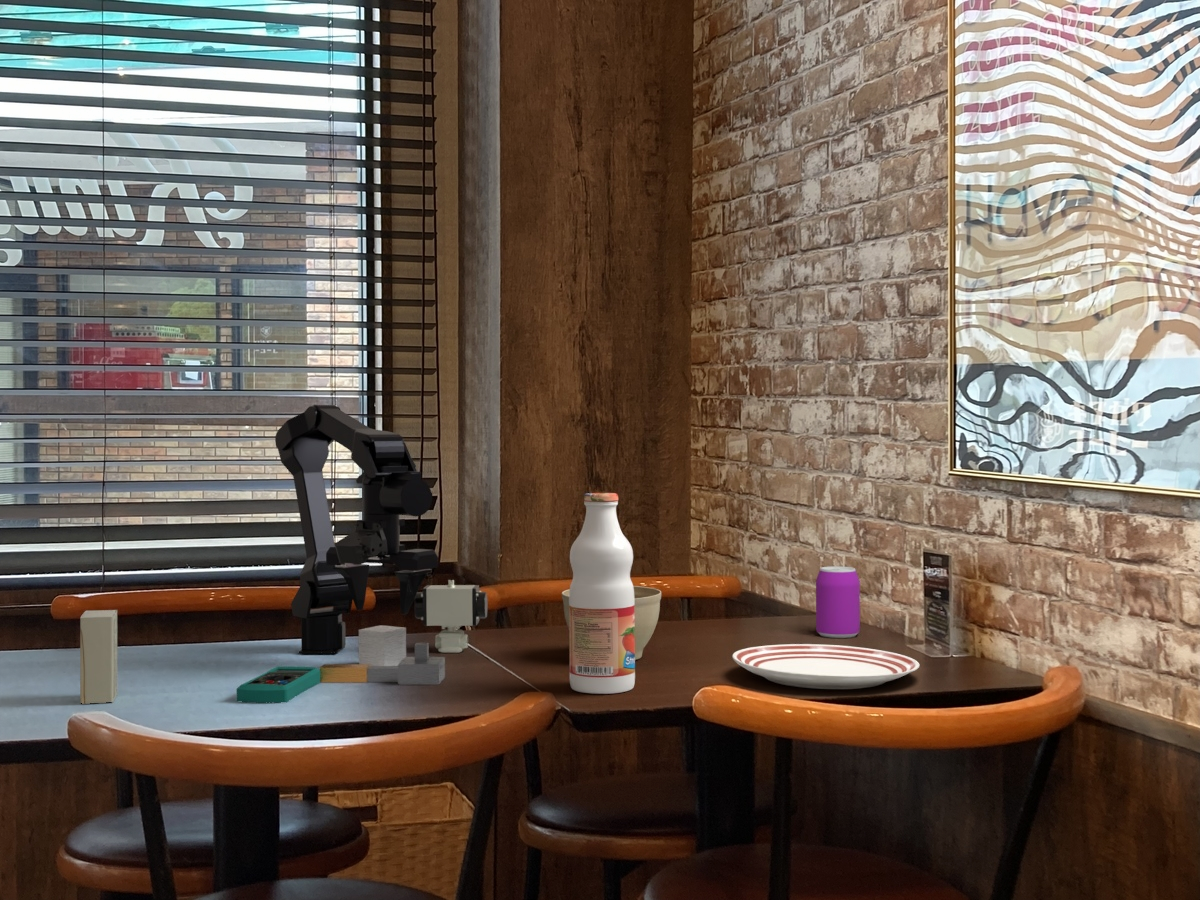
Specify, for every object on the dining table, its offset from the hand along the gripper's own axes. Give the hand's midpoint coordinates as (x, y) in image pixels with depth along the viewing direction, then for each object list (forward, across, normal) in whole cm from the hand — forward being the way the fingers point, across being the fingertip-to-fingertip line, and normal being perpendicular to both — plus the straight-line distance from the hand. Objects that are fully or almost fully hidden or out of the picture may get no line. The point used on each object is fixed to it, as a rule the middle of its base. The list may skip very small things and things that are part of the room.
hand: (381, 612), depth 203 cm
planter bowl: (+9, +28, +24) cm, 38 cm away
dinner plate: (+9, +64, +26) cm, 69 cm away
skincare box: (+9, -18, -38) cm, 43 cm away
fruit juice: (+9, +39, +3) cm, 40 cm away
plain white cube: (+9, 0, 0) cm, 9 cm away
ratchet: (+9, +7, -9) cm, 14 cm away
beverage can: (+9, +51, +63) cm, 82 cm away
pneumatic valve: (+9, +1, +17) cm, 19 cm away
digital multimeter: (+9, 0, -22) cm, 24 cm away
